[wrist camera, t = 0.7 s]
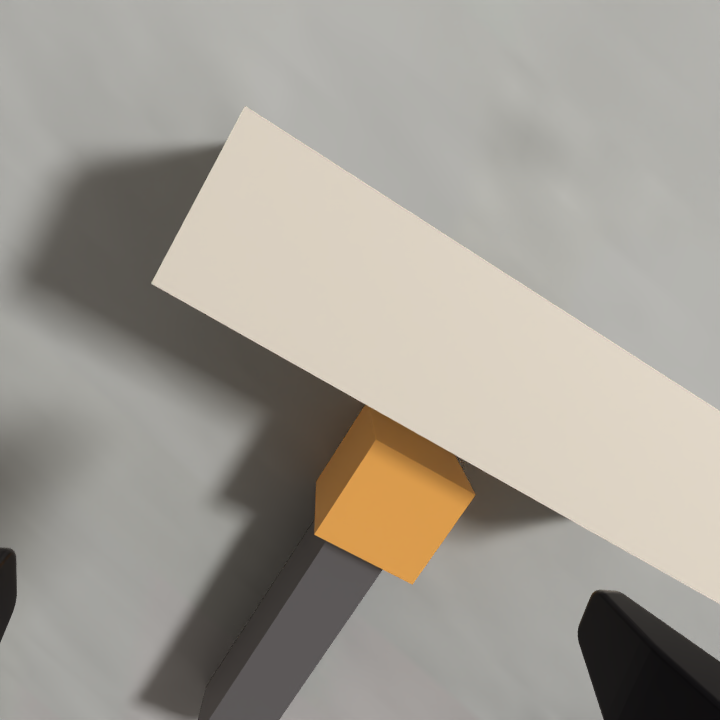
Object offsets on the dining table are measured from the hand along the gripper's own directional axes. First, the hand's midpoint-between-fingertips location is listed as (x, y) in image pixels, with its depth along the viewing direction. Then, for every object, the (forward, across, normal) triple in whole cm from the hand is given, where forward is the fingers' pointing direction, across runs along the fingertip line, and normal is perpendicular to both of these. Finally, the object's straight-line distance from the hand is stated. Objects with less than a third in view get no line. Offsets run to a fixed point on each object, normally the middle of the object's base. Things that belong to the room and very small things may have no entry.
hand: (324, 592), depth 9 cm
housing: (+14, -6, 0) cm, 15 cm away
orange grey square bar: (+13, -2, +10) cm, 17 cm away
